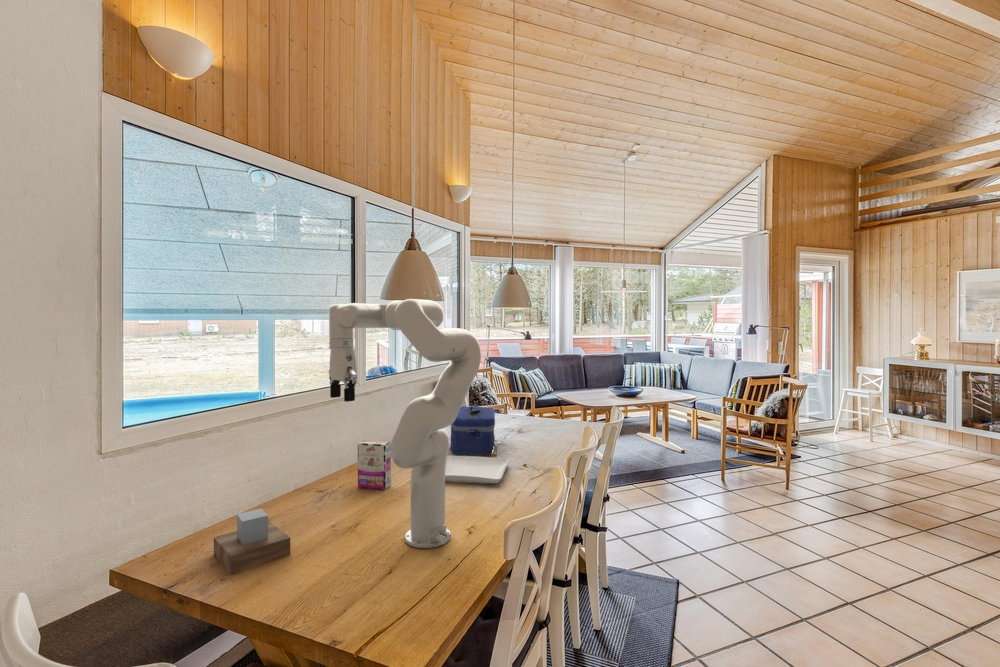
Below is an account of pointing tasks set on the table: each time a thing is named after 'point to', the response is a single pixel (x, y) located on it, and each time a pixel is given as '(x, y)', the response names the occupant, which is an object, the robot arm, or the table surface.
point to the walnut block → (251, 550)
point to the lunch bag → (473, 431)
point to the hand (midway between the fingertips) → (342, 399)
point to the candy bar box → (374, 465)
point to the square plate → (475, 469)
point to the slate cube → (252, 526)
